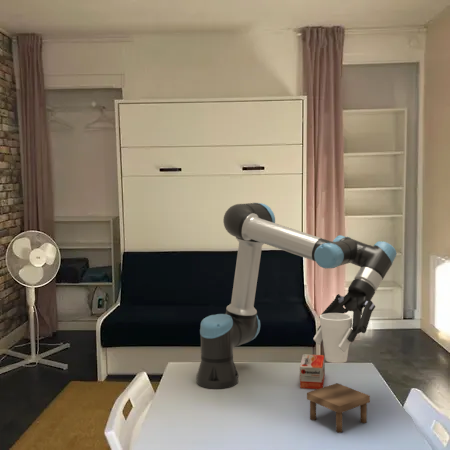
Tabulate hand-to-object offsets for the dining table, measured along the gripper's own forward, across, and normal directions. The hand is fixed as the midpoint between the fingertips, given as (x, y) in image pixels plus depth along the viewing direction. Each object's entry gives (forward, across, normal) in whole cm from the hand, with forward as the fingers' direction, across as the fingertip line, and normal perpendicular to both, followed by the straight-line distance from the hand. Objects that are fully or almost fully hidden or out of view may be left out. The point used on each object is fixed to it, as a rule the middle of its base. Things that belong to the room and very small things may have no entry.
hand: (328, 345), depth 158 cm
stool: (+14, 0, -19) cm, 24 cm away
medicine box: (+2, +28, -31) cm, 42 cm away
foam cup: (+1, 0, -6) cm, 6 cm away
